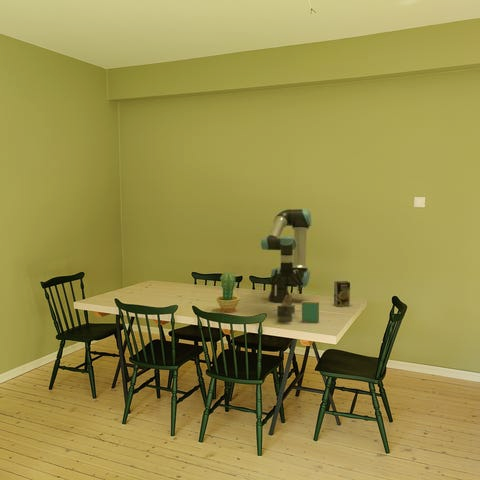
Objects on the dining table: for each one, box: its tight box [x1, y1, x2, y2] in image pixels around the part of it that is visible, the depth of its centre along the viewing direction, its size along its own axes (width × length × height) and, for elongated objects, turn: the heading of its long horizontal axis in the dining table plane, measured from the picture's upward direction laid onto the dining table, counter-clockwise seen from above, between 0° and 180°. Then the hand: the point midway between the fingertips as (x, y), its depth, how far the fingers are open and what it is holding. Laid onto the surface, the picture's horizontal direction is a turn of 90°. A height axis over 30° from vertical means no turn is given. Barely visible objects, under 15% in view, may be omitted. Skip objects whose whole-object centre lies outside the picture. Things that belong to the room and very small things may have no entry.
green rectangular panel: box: [301, 300, 320, 323], centre depth 277 cm, size 10×2×12 cm, turn 79°
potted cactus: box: [216, 271, 241, 313], centre depth 305 cm, size 15×15×25 cm
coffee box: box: [333, 280, 351, 308], centre depth 314 cm, size 9×6×16 cm
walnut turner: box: [276, 294, 293, 317], centre depth 289 cm, size 8×30×6 cm, turn 169°
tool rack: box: [277, 304, 296, 322], centre depth 290 cm, size 8×24×4 cm, turn 169°
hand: (286, 296), depth 289 cm, fingers open, 13 cm apart
